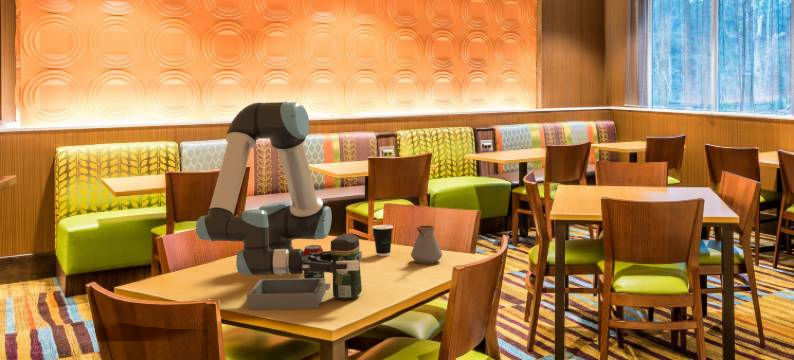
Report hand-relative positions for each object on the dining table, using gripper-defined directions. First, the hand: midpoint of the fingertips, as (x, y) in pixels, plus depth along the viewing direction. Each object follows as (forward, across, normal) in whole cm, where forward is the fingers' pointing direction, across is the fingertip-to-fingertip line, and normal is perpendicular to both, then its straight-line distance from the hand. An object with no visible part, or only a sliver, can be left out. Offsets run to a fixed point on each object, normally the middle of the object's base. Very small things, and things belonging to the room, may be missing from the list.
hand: (360, 260), depth 224 cm
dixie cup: (+4, -63, -12) cm, 64 cm away
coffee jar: (-5, -3, -12) cm, 13 cm away
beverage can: (-17, -22, -12) cm, 30 cm away
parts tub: (-21, 0, -12) cm, 24 cm away
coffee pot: (+19, -45, -12) cm, 50 cm away
